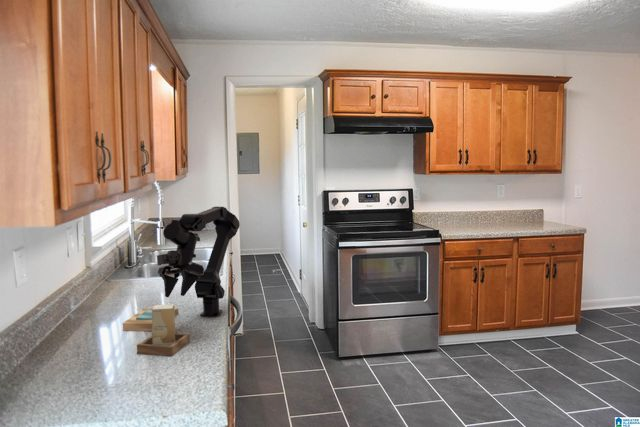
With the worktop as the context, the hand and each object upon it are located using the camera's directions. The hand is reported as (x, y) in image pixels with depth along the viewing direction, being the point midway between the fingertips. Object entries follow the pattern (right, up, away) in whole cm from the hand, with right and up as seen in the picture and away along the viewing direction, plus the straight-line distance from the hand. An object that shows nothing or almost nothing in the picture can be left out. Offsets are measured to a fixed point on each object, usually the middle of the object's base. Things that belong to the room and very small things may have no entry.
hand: (174, 296), depth 163 cm
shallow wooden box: (-12, -11, +14) cm, 22 cm away
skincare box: (0, -14, -10) cm, 17 cm away
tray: (0, -14, -10) cm, 17 cm away
